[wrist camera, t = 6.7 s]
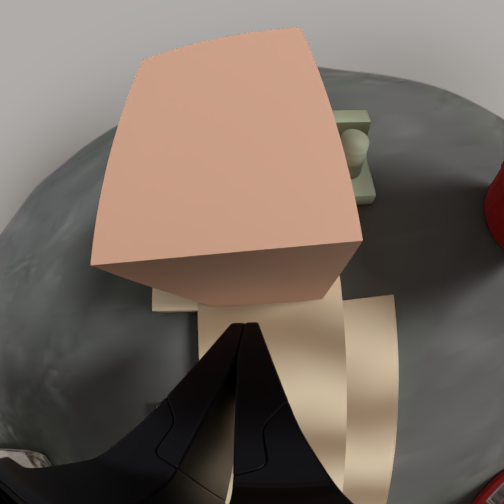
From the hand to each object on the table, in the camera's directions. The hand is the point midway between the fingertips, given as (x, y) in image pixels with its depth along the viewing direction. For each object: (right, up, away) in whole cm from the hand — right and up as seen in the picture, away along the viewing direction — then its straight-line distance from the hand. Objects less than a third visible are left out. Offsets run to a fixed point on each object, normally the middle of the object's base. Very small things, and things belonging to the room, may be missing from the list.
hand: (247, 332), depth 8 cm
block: (+1, +4, +7) cm, 8 cm away
